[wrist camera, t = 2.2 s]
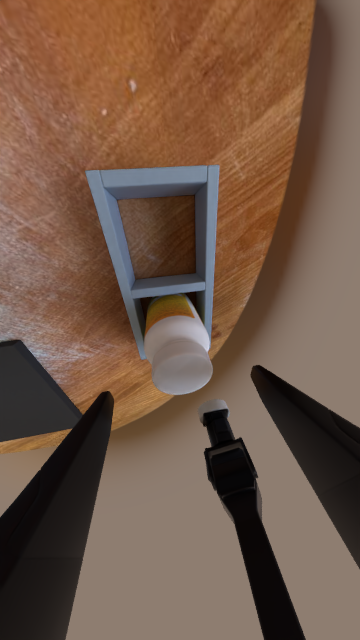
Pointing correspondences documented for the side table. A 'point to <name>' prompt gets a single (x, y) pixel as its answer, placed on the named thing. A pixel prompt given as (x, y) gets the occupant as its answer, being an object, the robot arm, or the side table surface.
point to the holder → (105, 195)
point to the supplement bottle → (176, 345)
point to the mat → (30, 396)
